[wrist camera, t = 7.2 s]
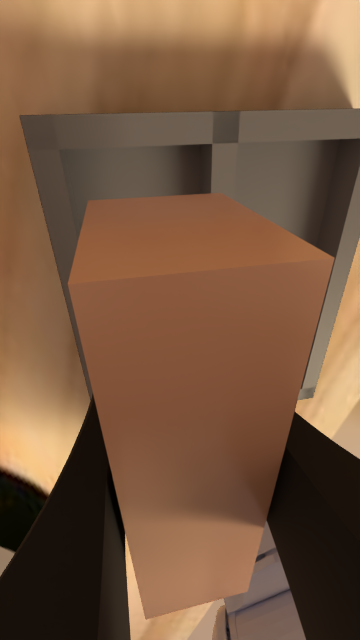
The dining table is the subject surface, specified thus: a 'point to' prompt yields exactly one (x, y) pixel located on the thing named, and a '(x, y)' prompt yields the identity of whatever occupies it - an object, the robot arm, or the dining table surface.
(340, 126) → the grey divided tray
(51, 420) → the dining table surface
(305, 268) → the tan rectangular block
